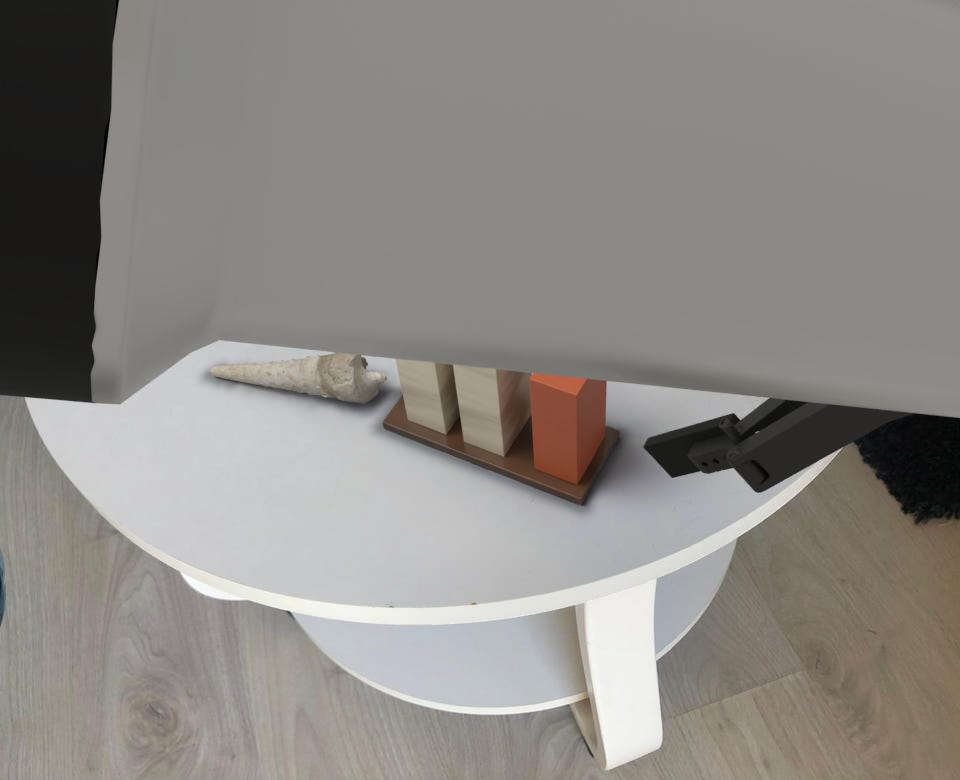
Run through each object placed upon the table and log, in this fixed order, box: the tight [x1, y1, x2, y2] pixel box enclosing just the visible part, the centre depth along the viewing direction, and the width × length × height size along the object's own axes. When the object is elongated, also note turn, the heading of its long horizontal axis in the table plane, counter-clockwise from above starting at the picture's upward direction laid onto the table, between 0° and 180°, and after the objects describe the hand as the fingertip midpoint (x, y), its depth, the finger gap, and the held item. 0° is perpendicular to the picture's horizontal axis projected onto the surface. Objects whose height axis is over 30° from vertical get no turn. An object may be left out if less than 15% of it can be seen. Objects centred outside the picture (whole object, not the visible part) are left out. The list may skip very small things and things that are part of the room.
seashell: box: [210, 352, 388, 405], centre depth 80 cm, size 4×16×4 cm, turn 80°
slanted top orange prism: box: [530, 373, 608, 485], centre depth 70 cm, size 5×4×10 cm
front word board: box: [381, 359, 620, 506], centre depth 73 cm, size 7×17×11 cm, turn 62°
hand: (700, 378), depth 62 cm, fingers open, 13 cm apart
